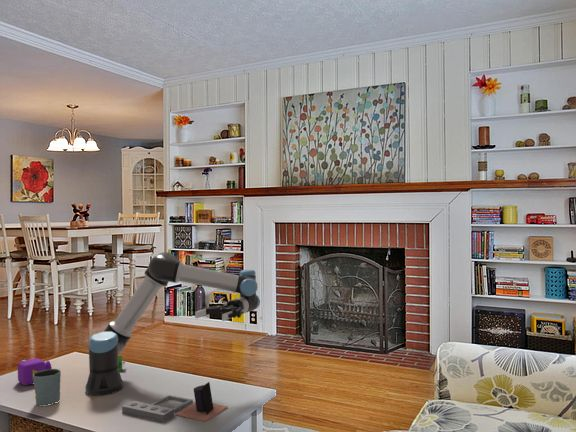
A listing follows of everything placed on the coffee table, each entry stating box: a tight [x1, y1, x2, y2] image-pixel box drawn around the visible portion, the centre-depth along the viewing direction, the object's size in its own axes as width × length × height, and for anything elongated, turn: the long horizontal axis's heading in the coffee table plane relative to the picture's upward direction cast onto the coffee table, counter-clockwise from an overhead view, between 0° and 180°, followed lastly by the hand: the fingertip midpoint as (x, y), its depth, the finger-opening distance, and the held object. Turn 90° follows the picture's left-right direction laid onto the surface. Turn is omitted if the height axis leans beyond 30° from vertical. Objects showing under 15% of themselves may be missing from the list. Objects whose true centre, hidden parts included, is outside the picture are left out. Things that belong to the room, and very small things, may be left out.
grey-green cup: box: [33, 368, 62, 405], centre depth 197 cm, size 10×10×12 cm
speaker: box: [193, 381, 214, 415], centre depth 185 cm, size 8×6×10 cm
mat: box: [174, 401, 229, 422], centre depth 185 cm, size 14×14×1 cm
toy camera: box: [17, 358, 53, 386], centre depth 223 cm, size 11×14×10 cm
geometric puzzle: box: [118, 355, 126, 371], centre depth 237 cm, size 7×7×8 cm
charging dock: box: [121, 394, 194, 423], centre depth 189 cm, size 20×20×3 cm
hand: (209, 316), depth 203 cm, fingers open, 13 cm apart
